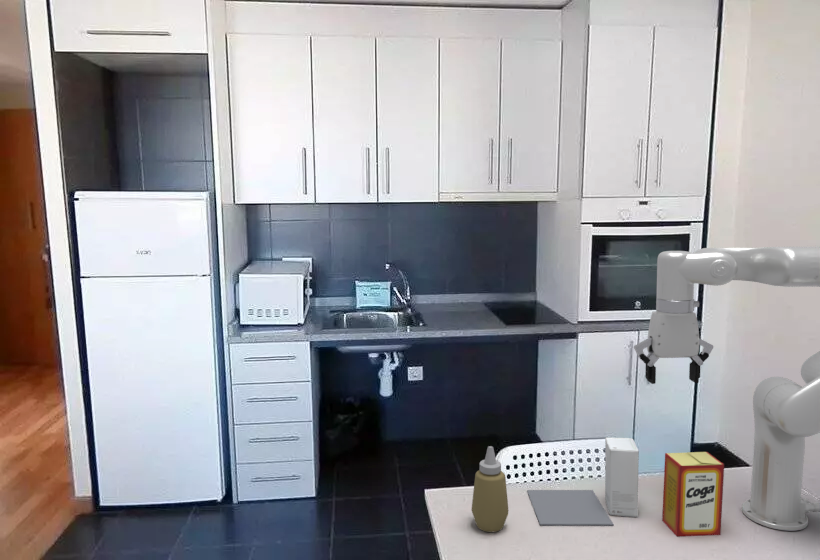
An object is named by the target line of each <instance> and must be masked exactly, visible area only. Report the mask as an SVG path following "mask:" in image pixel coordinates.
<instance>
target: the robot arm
mask: <svg viewBox="0 0 820 560" xmlns="http://www.w3.org/2000/svg"><path fill="white" fill-rule="evenodd" d="M656 261H657V262H656V301H655V303H656V305H655V311H652V312H651V316H650V320H649V326H648V332H647V338H646V339H644V340H642V341H640V342H639V343H637V344H635V345H634V346H633V349H634V351H635V353H636V355H637V357H638V358H639V359H640V360H641V361H642V362H643V363H644V364H645V378H646V380H647V382H649V383H650V384H651V385H655V384H656V381H657V379H656V378H657V376H656V375H657V374H656V373H657V367H656V366H655V364H656V362H657V361H658V360H659V359H675V358H676V359H677V358H678V359H683V358H684V359H685V358H689V359H690V360H691V362H690V363H689V366H688V367H689V370H688V371H689V372H688V378H689V380H690V381H691V382H693V383H694V384H699V383H700V382H699V380H700V379H701V368H702V367H701V366H703V365H704V362H706V360H707V359H709V357H710V354H711V353H712V351H713V349H714V345H713V344H711V343H710V342H707V341H705V340H704V339H701V338H700V331H699V323H698V318H697V314H696V312H694V311H695V309H696V308H699V307H700V301H699V300H695V298H694V293H695V292H694V291H695V290H694V289H695V284H697V285H699V284H700V285H706V286H723V285H724V286H725V285H726V284H728V283H730V282H731V281H743V282H744V281H745V282H752V283H753V282H754V283H759V284H765V285H769V286H774V287H776V286H777V287H785V288H787V287H792V288H793V287H794V288H795V287H798V288H799V287H804V288H806V287H809V288H810V287H814V288H815V287H820V246H767V247H766V246H765V247H703V248H700V249H697V250H695V251H694V252H691V251H685V250H666V251H662V252H660V253H658V256H657V260H656ZM700 346H701V347H703V349H702V351H701V352H700ZM644 349H647V352H648V354H647V355H646V354H645V353H644ZM800 376H801V378H802V380H803V382H804V383H805V385H803V386H801V385H800V384H799V383H797V382H795V381H793V380H791V379H788V378H786V377H783V376H771V377H767V378H764V379H763V380H762V381H760V382H759V383H758V385H756V387H755V389H754V392H753V397H752V409H753V419H754V420H753V421H754V435H753V436H754V437H753V452H752V453H753V454H752V469H751V483H750V484H751V486H750V498H749V499H747V500H745V501H743V502H742V504H741V511H742V513H743V514H744V516H746V517H747V518H748V519H749V520H751V521H752V522H754V523H757V524H758V525H762V526H764V527H767V528H770V529H775V530H779V531H786V532H787V531H791V532H792V531H800V530H803V529H805V528H807V527H808V524H809V518H808V516H807V514H809V513H810V512H812V513H820V502H810V500H809V498H802V491H803V490H802V488H803V477H804V476H803V474H804V462H805V461H804V459H805V451H806V450H805V449H806V438H807V437H812V436H815V435H818V434H819V433H820V350H819V351H816V352H815V353H814V354H813V355H811V356H810V357H808V358H807V359H805V360H804V362H803V363H802V365H801V366H800Z"/></svg>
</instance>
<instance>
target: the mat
mask: <svg viewBox="0 0 820 560" xmlns="http://www.w3.org/2000/svg"><path fill="white" fill-rule="evenodd" d="M526 492H527V495H528V498H529V501H530V503H531V505H532V506H531V507H532V508H533V511H534V513H535V516H536V518H537V522H538V524H539V526H540V527H545V526H546V527H615V526H614V525H615V524H614V523H613V521H612V519H611V517H610V516H609V513H608V512H607V511H606V509H605V508H604V506H603V504H602V503H601V501H600V500H599V497H597V495H596V493H595V492H594V489H527V490H526Z"/></svg>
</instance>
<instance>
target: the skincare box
mask: <svg viewBox="0 0 820 560" xmlns="http://www.w3.org/2000/svg"><path fill="white" fill-rule="evenodd" d="M604 440H605V442H604V443H605V445H604V447H605V449H604V450H605V453H604V454H605V455H604V457H605V459H604V460H605V463H604V465H605V469H604V470H605V471H604V476H605V477H604V479H605V480H604V481H605V482H604V483H605V486H604V489H605V490H604V500H605V504H606V508H607V511H608V512H607V513H608V515H610V516H616V517H617V516H618V517H629V518H630V517H631V518H638V517H639V513H638V512H639V452H640V451H639V448H638V447H637V444H636V442H635V440H634V439H633V438H631V437H605V439H604Z"/></svg>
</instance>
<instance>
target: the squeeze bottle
mask: <svg viewBox="0 0 820 560" xmlns="http://www.w3.org/2000/svg"><path fill="white" fill-rule="evenodd" d="M473 482H474V483H473V492H472V493H473V494H472V501H471V513H472V516H473V519H474V522H475V525H476V527H477V528H478V529H479V530H480V531H483V532H487V533H495V532H500V531H501V530H502V529H503V528H504V526H505V523H506V520H507V518H508V515H509V501H508V491H507V490H508V489H507V478H506V473H504V471H502V463H501V461H499V460H497V459H496V453H495V450H494V446H492V445H490V446H489V445H488V446H487V449H486V454H485V457H484V459H482V460H480V462H479V470H477V471H476V472H475V474H474V481H473Z"/></svg>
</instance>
